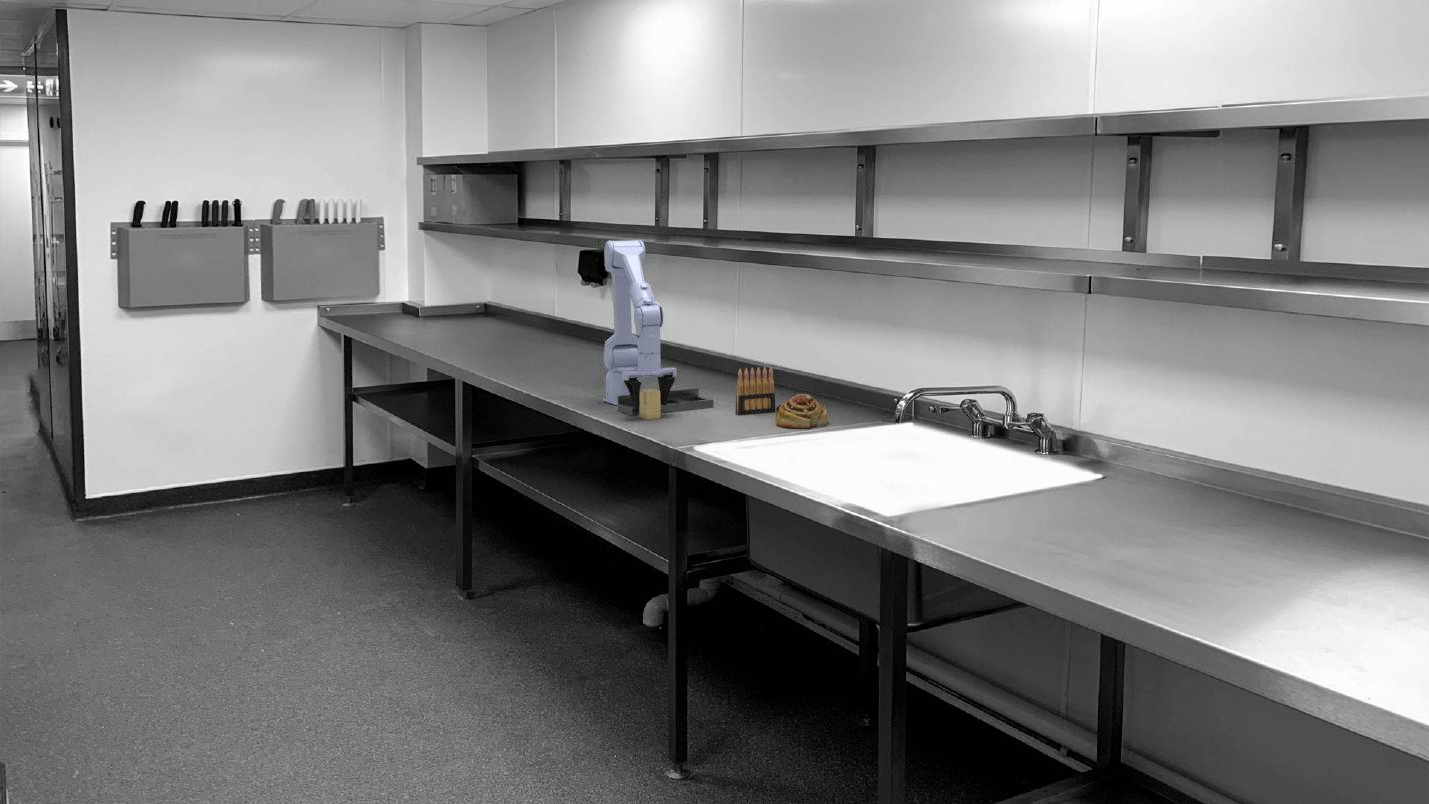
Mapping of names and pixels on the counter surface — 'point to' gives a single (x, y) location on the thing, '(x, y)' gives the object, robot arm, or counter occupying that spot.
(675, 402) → the charcoal rail
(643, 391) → the brass peg
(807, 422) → the pastry
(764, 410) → the ammunition clip
